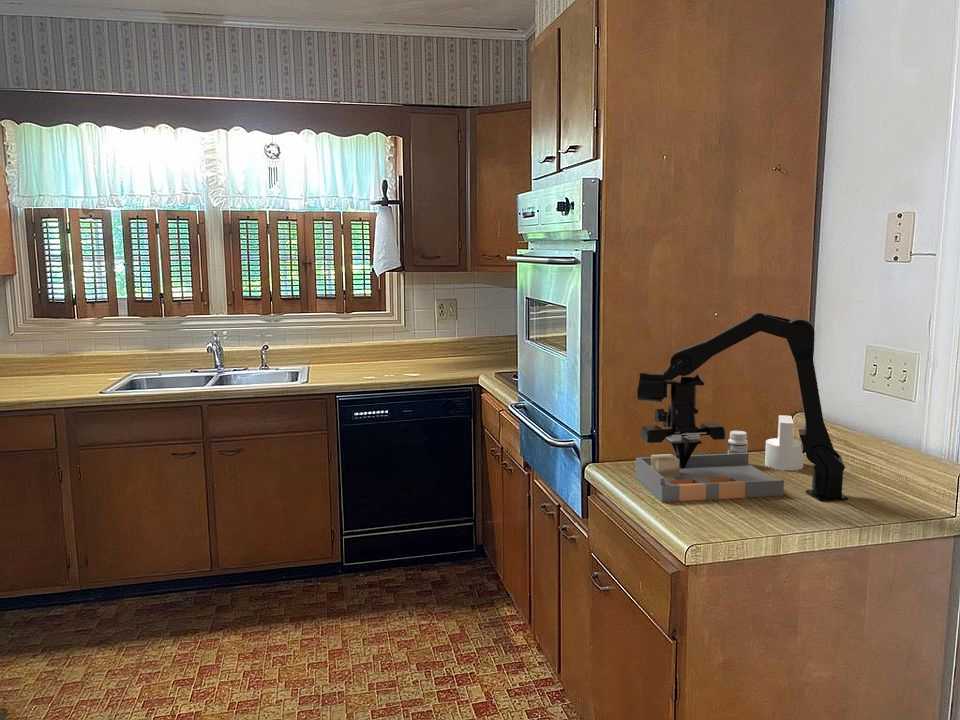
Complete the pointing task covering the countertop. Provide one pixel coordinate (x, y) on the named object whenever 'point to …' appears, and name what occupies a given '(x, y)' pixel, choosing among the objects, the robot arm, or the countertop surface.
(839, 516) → the countertop surface
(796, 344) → the robot arm
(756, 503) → the countertop surface
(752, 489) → the grey tray
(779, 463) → the base with upright slab
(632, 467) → the countertop surface
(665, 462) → the birch block
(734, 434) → the pill bottle
